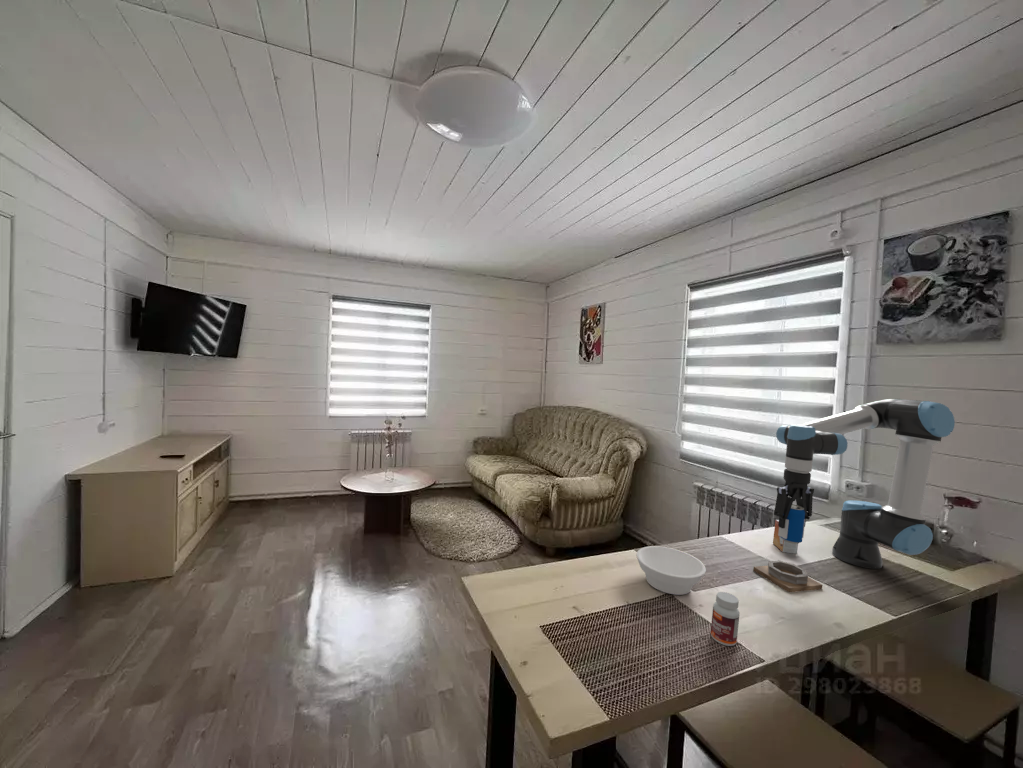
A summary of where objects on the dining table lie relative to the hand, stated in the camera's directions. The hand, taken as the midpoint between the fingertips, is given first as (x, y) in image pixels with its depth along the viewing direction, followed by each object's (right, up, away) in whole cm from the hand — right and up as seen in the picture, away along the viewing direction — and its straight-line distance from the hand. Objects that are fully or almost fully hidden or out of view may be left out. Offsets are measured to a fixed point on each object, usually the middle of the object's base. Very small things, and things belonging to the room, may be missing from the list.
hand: (790, 536), depth 140 cm
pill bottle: (-41, -15, -33) cm, 55 cm away
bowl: (-45, -13, -8) cm, 48 cm away
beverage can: (0, -2, 0) cm, 2 cm away
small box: (+16, -15, +27) cm, 35 cm away
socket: (-1, -15, +1) cm, 15 cm away
